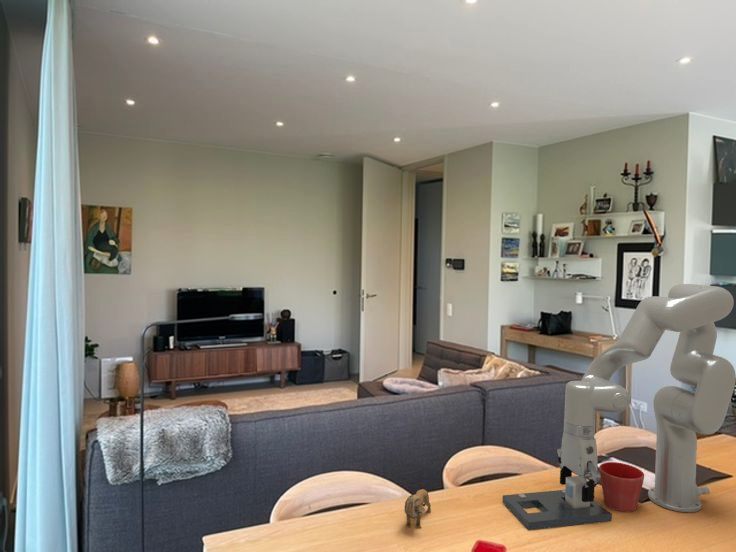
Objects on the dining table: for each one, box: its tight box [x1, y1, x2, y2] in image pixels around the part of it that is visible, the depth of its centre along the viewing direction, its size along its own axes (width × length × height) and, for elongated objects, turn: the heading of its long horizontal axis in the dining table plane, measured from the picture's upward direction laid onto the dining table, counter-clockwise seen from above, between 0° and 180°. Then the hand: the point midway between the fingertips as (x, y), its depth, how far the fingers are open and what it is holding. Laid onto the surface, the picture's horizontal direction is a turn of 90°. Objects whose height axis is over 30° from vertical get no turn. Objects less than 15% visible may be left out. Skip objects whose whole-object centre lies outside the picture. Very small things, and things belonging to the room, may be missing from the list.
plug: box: [564, 475, 590, 509], centre depth 134 cm, size 5×4×8 cm
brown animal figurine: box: [404, 488, 432, 529], centre depth 128 cm, size 15×5×9 cm, turn 164°
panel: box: [502, 489, 613, 531], centre depth 133 cm, size 23×14×2 cm, turn 101°
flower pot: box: [598, 461, 645, 513], centre depth 136 cm, size 11×11×10 cm
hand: (576, 492), depth 134 cm, fingers open, 9 cm apart
